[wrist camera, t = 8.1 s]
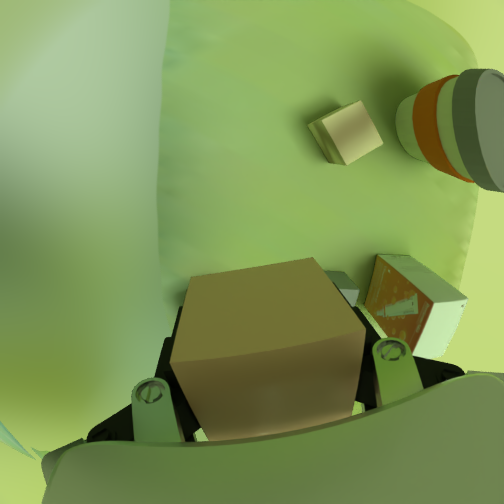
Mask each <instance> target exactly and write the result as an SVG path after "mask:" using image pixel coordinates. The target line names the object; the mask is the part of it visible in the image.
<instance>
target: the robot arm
mask: <svg viewBox="0 0 504 504" xmlns="http://www.w3.org/2000/svg"><path fill="white" fill-rule="evenodd" d="M332 283H333V284H334V285H335V287H336V288H337V290H338V291H339V292H340V294H341V295H342V296H343V298H344V299H345V300H346V302H347V303H348V304H349V306H350V307H351V309H352V310H353V311H354V313H355V314H356V315H357V317H358V318H359V320H360V321H361V322H362V324H363V325H364V327H365V328H366V334H365V342H364V349H363V356H362V363H361V369H360V375H359V381H358V386H357V391H356V396H355V401H358V402H361V403H362V404H361V406H362V413H360V414H357V415H353V416H350V417H347V418H343V419H340V420H336V421H332V422H328V423H325V424H321V425H316V426H312V427H308V428H303V429H298V430H293V431H288V432H283V433H277V434H271V435H265V436H258V437H250V438H241V439H232V440H220V441H204V442H197V438H196V435H195V432H196V431H197V430H198V429H199V428H201V426H200V424H199V422H198V420H197V418H196V416H195V414H194V413H193V411H192V409H191V407H190V405H189V403H188V401H187V399H186V397H185V395H184V393H183V391H182V388H181V386H180V384H179V382H178V380H177V378H176V376H175V373H174V371H173V369H172V367H171V364H170V359H171V355H172V350H173V346H174V342H175V337H176V333H177V329H178V325H179V321H180V317H181V313H182V309H183V306H180V307H179V310H178V314H177V318H176V321H175V325H174V329H173V333H172V337H166V338H165V340H164V343H163V347H162V350H161V354H160V358H159V361H158V365H157V369H156V373H155V376H154V378H148V379H145V380H142V381H141V382H139V383H138V384H137V385H136V386H135V387H134V389H133V390H132V396H131V398H132V403H131V404H130V405H128V406H127V407H125V408H123V409H122V410H120V411H119V412H117V413H116V414H114V415H112V416H111V417H109V418H108V419H106V420H104V421H103V422H101V423H100V424H98V425H97V426H95V427H94V428H92V429H91V431H90V432H89V433H88V436H87V439H86V440H84V439H83V438H81V439H78V440H76V441H74V442H72V443H70V444H67V445H65V446H63V447H61V448H58V449H56V450H54V451H52V452H49V453H47V454H46V455H45V456H44V457H43V459H42V462H41V465H42V471H43V474H44V478H45V481H46V484H47V487H46V490H45V494H44V497H43V500H42V504H504V373H492V372H479V371H468V372H467V373H466V374H465V373H464V371H463V370H462V369H461V368H460V367H458V366H456V365H453V364H449V363H444V362H440V361H435V360H431V359H426V358H422V357H418V356H413V355H412V352H411V350H410V347H409V346H408V344H407V343H406V342H405V341H403V340H401V339H399V338H394V337H387V338H383V339H381V337H380V336H379V335H378V333H377V332H376V331H375V329H374V328H373V327H372V325H371V324H370V323H369V321H368V320H367V319H366V317H365V316H364V315H363V313H362V312H361V311H360V309H359V308H358V307H357V306H353V307H352V306H351V304H350V303H349V302H348V300H347V299H346V298H345V296H344V295H343V294H342V292H341V291H340V290H339V288H338V287H337V286H336V284H335V283H334V282H332Z"/></svg>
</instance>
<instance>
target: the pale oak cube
mask: <svg viewBox="0 0 504 504" xmlns="http://www.w3.org/2000/svg"><path fill="white" fill-rule="evenodd" d="M307 126H308V127H309V129H310V131H311V132H312V134H313V136H314V137H315V139H316V141H317V143H318V144H319V146H320V148H321V149H322V151H323V153H324V155H325V157H326V158H327V160H328V162H329V163H333V164H340V165H346V166H347V165H348V164H350V163H352V162H353V161H355V160H357V159H358V158H360V157H362V156H363V155H365V154H367V153H369V152H370V151H372V150H374V149H375V148H377V147H379V146H380V145H382V144H383V142H382V140H381V138H380V135H379V133H378V131H377V129H376V127H375V125H374V124H373V122H372V120H371V118H370V116H369V114H368V112H367V110H366V109H365V107H364V105H363V103H362V101H361V100H360V101H357V102H354V103H351V104H348V105H345V106H342V107H340V108H338V109H336V110H334V111H332V112H330V113H328V114H326V115H325V116H323V117H321V118H319V119H317V120H315V121H313V122H312V123H310V124H308V125H307Z"/></svg>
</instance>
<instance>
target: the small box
mask: <svg viewBox="0 0 504 504" xmlns="http://www.w3.org/2000/svg"><path fill="white" fill-rule="evenodd" d="M467 301H468V298H467V297H466V296H465V295H463V294H462V293H461V292H459V291H458V290H457V289H456V288H454V287H453V286H452V285H450V284H449V283H448V282H446V281H445V280H444V279H442V278H441V277H440V276H438V275H437V274H436V273H434V272H433V271H432V270H430V269H429V268H427V267H426V266H425V265H423V264H422V263H420V262H419V261H417V260H416V259H414V258H413V257H411V256H402V255H380V254H378V255H377V257H376V262H375V267H374V271H373V275H372V279H371V283H370V287H369V290H368V294H367V297H366V301H365V304H364V306H365V308H366V309H367V310H368V311H369V313H370V314H371V315H372V317H373V318H374V319H375V321H376V322H377V323H378V324H379V326H380V327H381V328H382V330H383V331H384V332H385V334H386V335H387V336H388V337H394V338H399V339H401V340H403V341H405V342H406V343H407V344H408V346H409V347H410V350H411V352H412V355H413V356H418V357H422V358H426V359H431V358H436V357H440V356H443V354H444V352H445V350H446V348H447V346H448V344H449V342H450V340H451V338H452V336H453V335H454V333H455V331H456V329H457V327H458V324H459V321H460V318H461V316H462V314H463V311H464V309H465V306H466V304H467Z"/></svg>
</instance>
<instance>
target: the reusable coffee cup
mask: <svg viewBox="0 0 504 504" xmlns="http://www.w3.org/2000/svg"><path fill="white" fill-rule="evenodd" d="M395 126H396V132H397V136H398V138H399V141H400V143H401V145H402V146H403V148H404V149H405V150H406V152H407V153H408V154H409V155H411V156H412V157H414V158H415V159H418V160H421V161H424V162H427V163H430V164H431V165H432V166H433V167H434V168H436V169H437V170H439V171H442V172H444V173H447V174H449V175H451V176H454V177H456V178H459V179H461V180H463V181H466V182H470V183H474V182H475V183H476V184H477V185H478V186H480V187H481V188H483V189H486V190H490V191H497V192H503V193H504V75H503V74H502V73H501V72H499V71H497V70H493V69H469V70H465V71H464V72H462V73H461V74H460V75H450V76H447V77H444V78H442V79H440V80H437V81H435V82H433V83H430V84H428V85H426V86H425V87H423V88H422V89H421V90H420V91H419V92H418V93H416V94H414V95H412V96H409V97H407V98H405V99H404V100H403V101H402V102H401V103H400V104H399V106H398V108H397V112H396V116H395Z"/></svg>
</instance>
